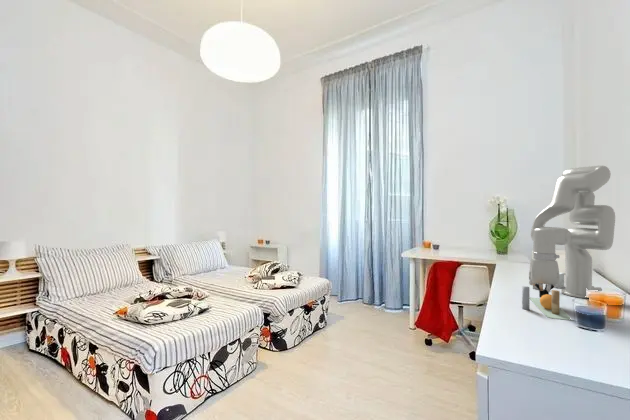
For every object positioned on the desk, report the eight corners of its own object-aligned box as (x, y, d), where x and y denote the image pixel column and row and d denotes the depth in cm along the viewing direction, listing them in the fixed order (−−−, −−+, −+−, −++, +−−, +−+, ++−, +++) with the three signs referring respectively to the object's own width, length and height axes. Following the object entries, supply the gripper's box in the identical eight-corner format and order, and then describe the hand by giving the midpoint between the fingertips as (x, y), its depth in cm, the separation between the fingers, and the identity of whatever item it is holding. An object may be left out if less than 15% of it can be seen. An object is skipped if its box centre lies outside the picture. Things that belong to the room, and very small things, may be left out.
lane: (528, 297, 140) (528, 297, 140) (549, 299, 137) (549, 299, 137) (547, 317, 114) (547, 317, 114) (574, 320, 111) (574, 320, 111)
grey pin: (526, 307, 126) (526, 286, 126) (530, 309, 123) (530, 287, 123) (520, 307, 126) (520, 286, 126) (525, 309, 123) (525, 287, 123)
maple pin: (556, 313, 119) (556, 289, 119) (561, 315, 117) (561, 291, 117) (550, 313, 119) (550, 290, 119) (554, 315, 117) (554, 291, 117)
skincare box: (550, 284, 165) (550, 270, 165) (564, 286, 159) (564, 272, 159) (546, 286, 161) (546, 272, 161) (560, 288, 156) (560, 274, 156)
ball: (556, 301, 119) (555, 314, 121) (561, 294, 122) (559, 307, 124) (538, 296, 124) (537, 308, 125) (543, 289, 127) (542, 302, 129)
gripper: (562, 256, 132) (562, 299, 132) (521, 254, 138) (521, 295, 138) (569, 259, 125) (568, 304, 125) (525, 257, 131) (525, 300, 131)
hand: (544, 299), depth 131 cm, fingers closed
